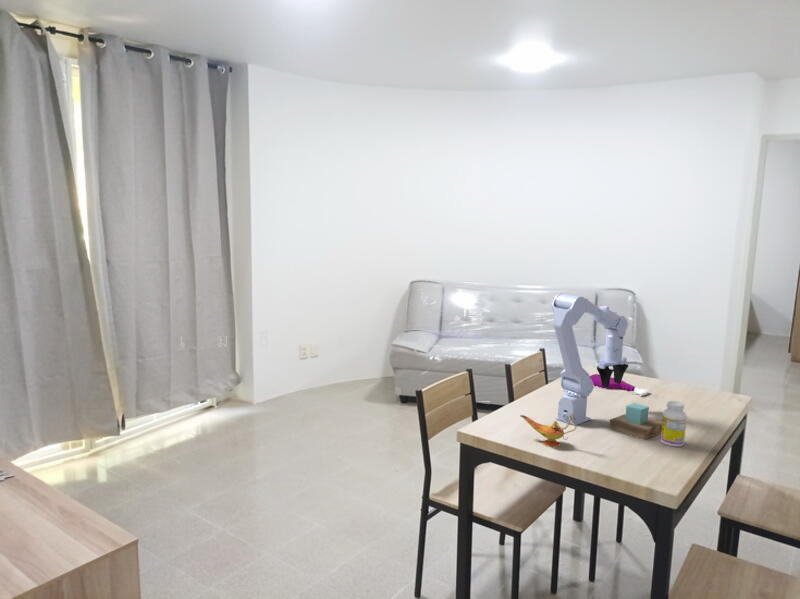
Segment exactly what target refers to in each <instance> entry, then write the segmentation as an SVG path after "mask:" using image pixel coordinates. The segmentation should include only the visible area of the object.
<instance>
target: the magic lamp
mask: <svg viewBox="0 0 800 599" xmlns="http://www.w3.org/2000/svg"><path fill="white" fill-rule="evenodd" d="M569 416H570V415H569ZM572 416H574V414H572V415H571V417H570V419H571V420H572V419H574V418H572ZM519 417H521V418H523V419H524V420H525V421H526V422H527V423H528V424H529V425H530V426H531V428H533V429H534V430H535V431H536V432H538V433H539V434H540V435H541V436H543V437H544V438H546V439H545V440H543V441H542V443H543V445H545V446H546V447H550V448H553V447H554V448H556V447H560V446H561V445H560V444H561V443H560V441H557V440H559V439H561V438H563V440H568V436H567V437H566V438H565V437H564V435H566V434H569V433H572V432H574V431H575V430H576V429H577V425H576V424H575V422H574V421H573V420H572V421H573V423H574V424H575V425H574V426H575V427H574V428H573V429H571V430H568V431H566V432H564V430H566V429H567V428H568V427H569V426H570V423H569V422H570V421H571V420H570V419H569V422H568V423H567V424H566V426H565V427H562V426H560V425H559V423H558V421H557V420H555V421H554V422H553V423H552V424H550V425H546V424H541V423H539V422H537V421H534V420H533V419H532V418H531V417H528V416H526V415H523V414H521V415H519Z"/></svg>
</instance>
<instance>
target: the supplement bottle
mask: <svg viewBox="0 0 800 599" xmlns="http://www.w3.org/2000/svg"><path fill="white" fill-rule="evenodd" d="M666 407H667V408H666V409H664V410H663V412H662V418H661V420H662V421H661V422H662V430H661V433H660V434H661V435H660V441H661V443H662V444H664V445H666V446H670V447H674V448H676V447H677V448H679V447H683V446H684V445H685V441H686V428H687V418H688V416H687V413H686V412H685V411H684V409H685V404H684V403H683V402H681V401H673V400H669V401H667V403H666Z"/></svg>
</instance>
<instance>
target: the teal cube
mask: <svg viewBox="0 0 800 599" xmlns="http://www.w3.org/2000/svg"><path fill="white" fill-rule="evenodd" d="M649 409H650V407H649V406H647V405H643V404H641V403H637V402H633V403H631V404H628V405H626V408H625V414H626V419H625V421H629V422H632V423H635V424H638V425H641V424H643V423H646V422H648V418H649V414H650V413H649Z"/></svg>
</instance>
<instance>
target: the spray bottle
mask: <svg viewBox="0 0 800 599" xmlns="http://www.w3.org/2000/svg"><path fill="white" fill-rule="evenodd" d="M589 377H590V379H591V380H592V381H593V385H594V386H593V387H596V386H598V387H597V388H600V387H601V389H604V388H606V389H605V390H623V391H627V392H629V393H631V394H637V395H638V397H643V396H645V395H649V389H646V388H644V389H643V388H640V387H637V386H634V385H633V384H630V383H628V382H626V381H624V380H623V379H622V380H621V383H620V384H618V383H614V377H612V376H611V378H610V383H609V387H608V388H607V387H603V386H602V382H601V377H600V374H599V373H598V374H597V373H595V374H591V375H589Z"/></svg>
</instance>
